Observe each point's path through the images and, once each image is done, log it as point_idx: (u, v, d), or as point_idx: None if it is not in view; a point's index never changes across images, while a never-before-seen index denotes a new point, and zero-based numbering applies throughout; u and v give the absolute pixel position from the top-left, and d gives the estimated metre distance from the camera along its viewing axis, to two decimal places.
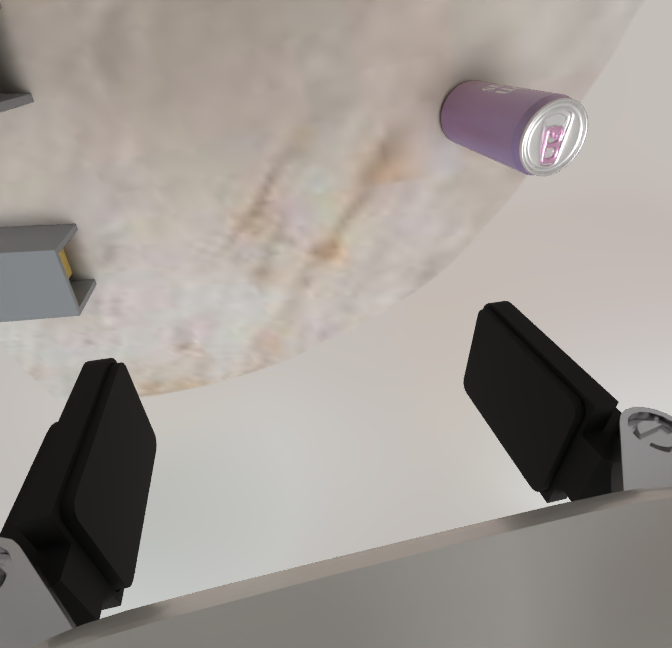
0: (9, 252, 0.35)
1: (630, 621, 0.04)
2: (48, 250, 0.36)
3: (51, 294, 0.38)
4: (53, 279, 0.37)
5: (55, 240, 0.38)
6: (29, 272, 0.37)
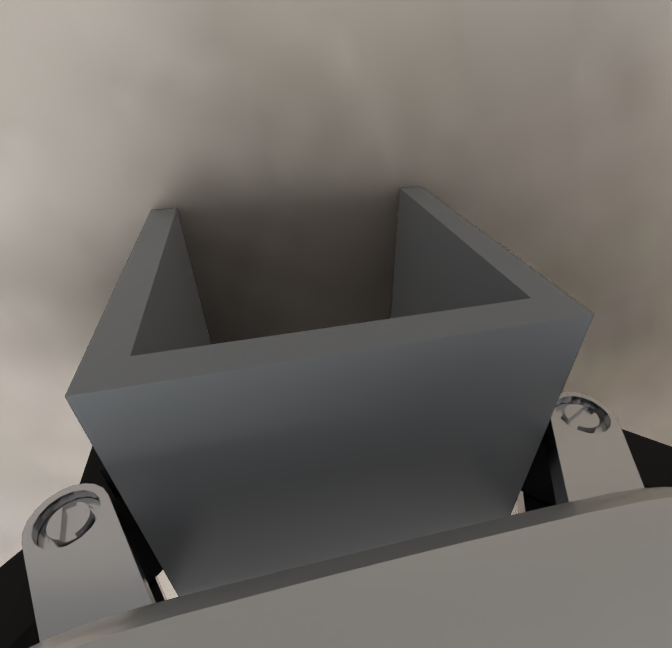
0: None
1: (630, 621, 0.04)
2: None
3: None
4: None
5: None
6: None
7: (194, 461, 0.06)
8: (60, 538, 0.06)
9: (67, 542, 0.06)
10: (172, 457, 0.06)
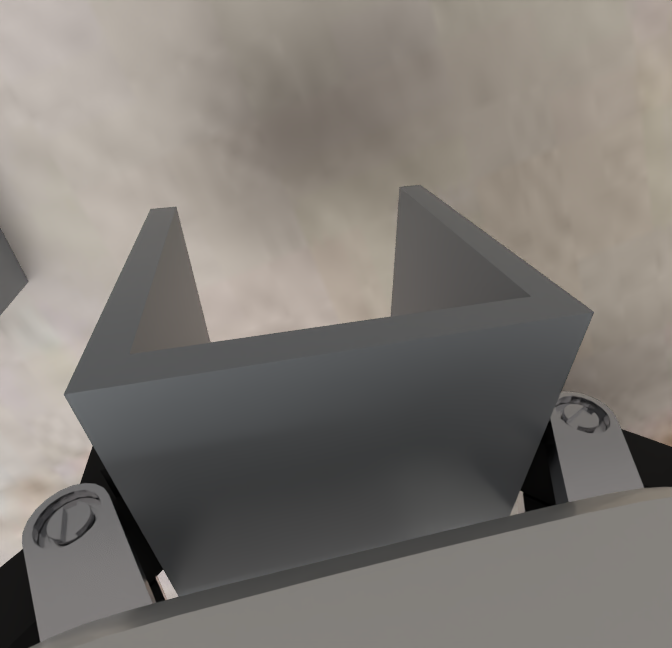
0: None
1: (630, 621, 0.04)
2: None
3: None
4: None
5: None
6: None
7: (194, 459, 0.06)
8: (60, 538, 0.06)
9: (67, 542, 0.06)
10: (172, 455, 0.06)
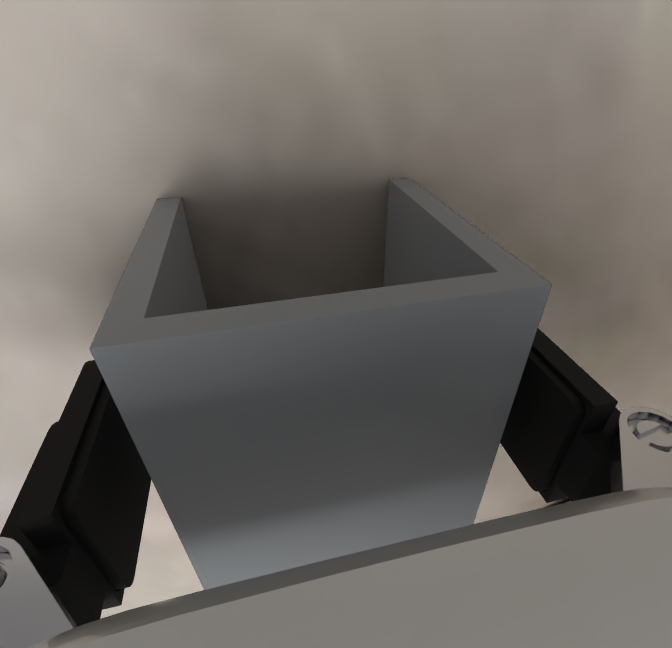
0: None
1: (630, 621, 0.04)
2: None
3: None
4: None
5: None
6: None
7: (199, 414, 0.06)
8: None
9: None
10: (180, 409, 0.06)
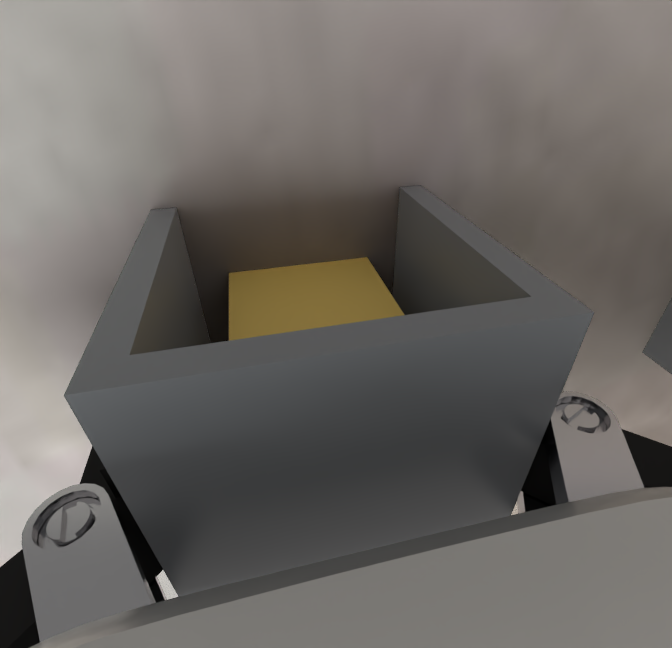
0: None
1: (630, 621, 0.04)
2: None
3: None
4: None
5: None
6: None
7: None
8: (60, 538, 0.06)
9: (66, 542, 0.06)
10: None
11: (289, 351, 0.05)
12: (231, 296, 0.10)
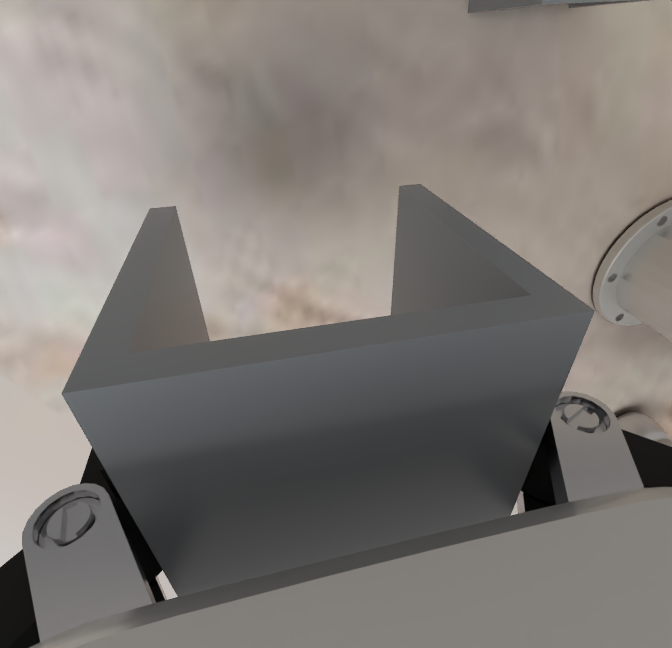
0: None
1: (630, 621, 0.04)
2: None
3: None
4: None
5: None
6: None
7: None
8: (61, 538, 0.06)
9: (67, 542, 0.06)
10: None
11: (288, 349, 0.05)
12: None
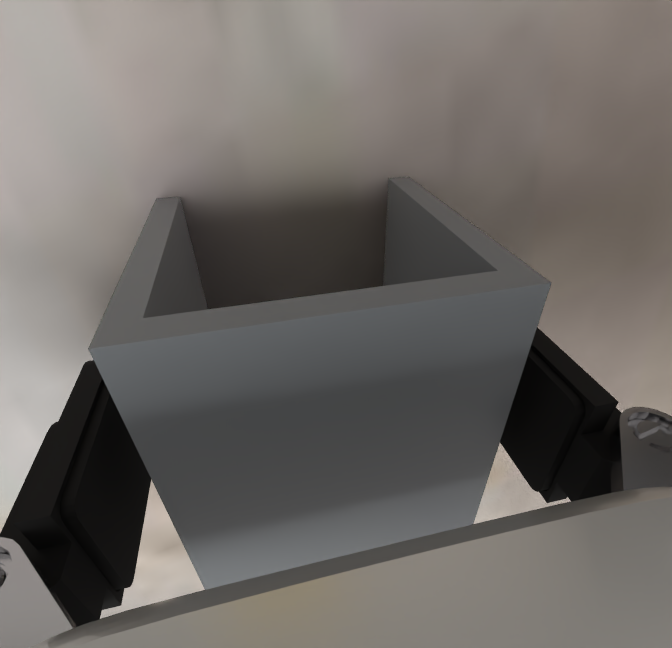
0: None
1: (630, 621, 0.04)
2: (470, 523, 0.11)
3: (307, 542, 0.09)
4: (372, 540, 0.10)
5: None
6: (408, 496, 0.09)
7: None
8: None
9: None
10: None
11: (282, 314, 0.06)
12: None
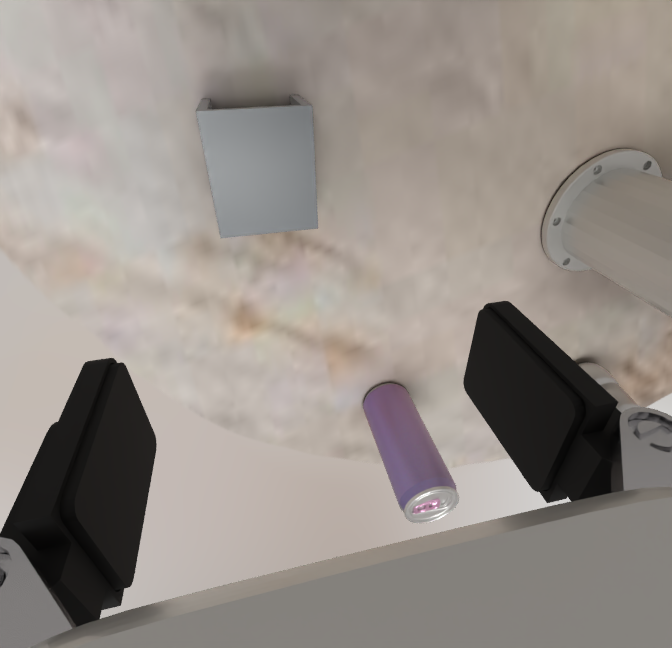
0: (315, 178, 0.28)
1: (630, 621, 0.04)
2: (317, 221, 0.29)
3: (254, 211, 0.28)
4: (278, 218, 0.29)
5: None
6: (287, 194, 0.28)
7: None
8: None
9: None
10: None
11: (240, 108, 0.24)
12: None
